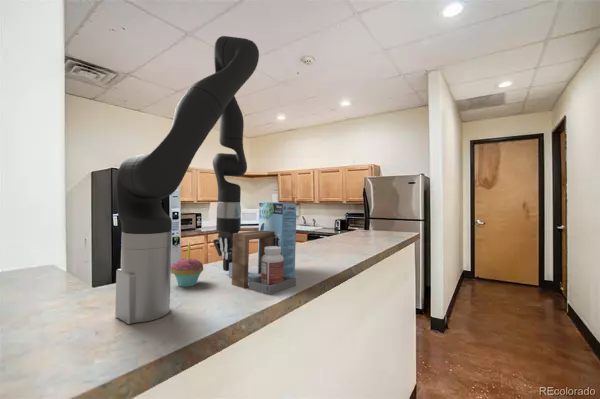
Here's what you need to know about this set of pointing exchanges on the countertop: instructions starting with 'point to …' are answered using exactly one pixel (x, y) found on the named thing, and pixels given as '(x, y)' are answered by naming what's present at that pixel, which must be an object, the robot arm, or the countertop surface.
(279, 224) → the light blue upright box
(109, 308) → the countertop surface
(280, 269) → the pill bottle
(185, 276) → the cupcake
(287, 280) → the dock
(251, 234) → the tunnel
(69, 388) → the countertop surface
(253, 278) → the sled
